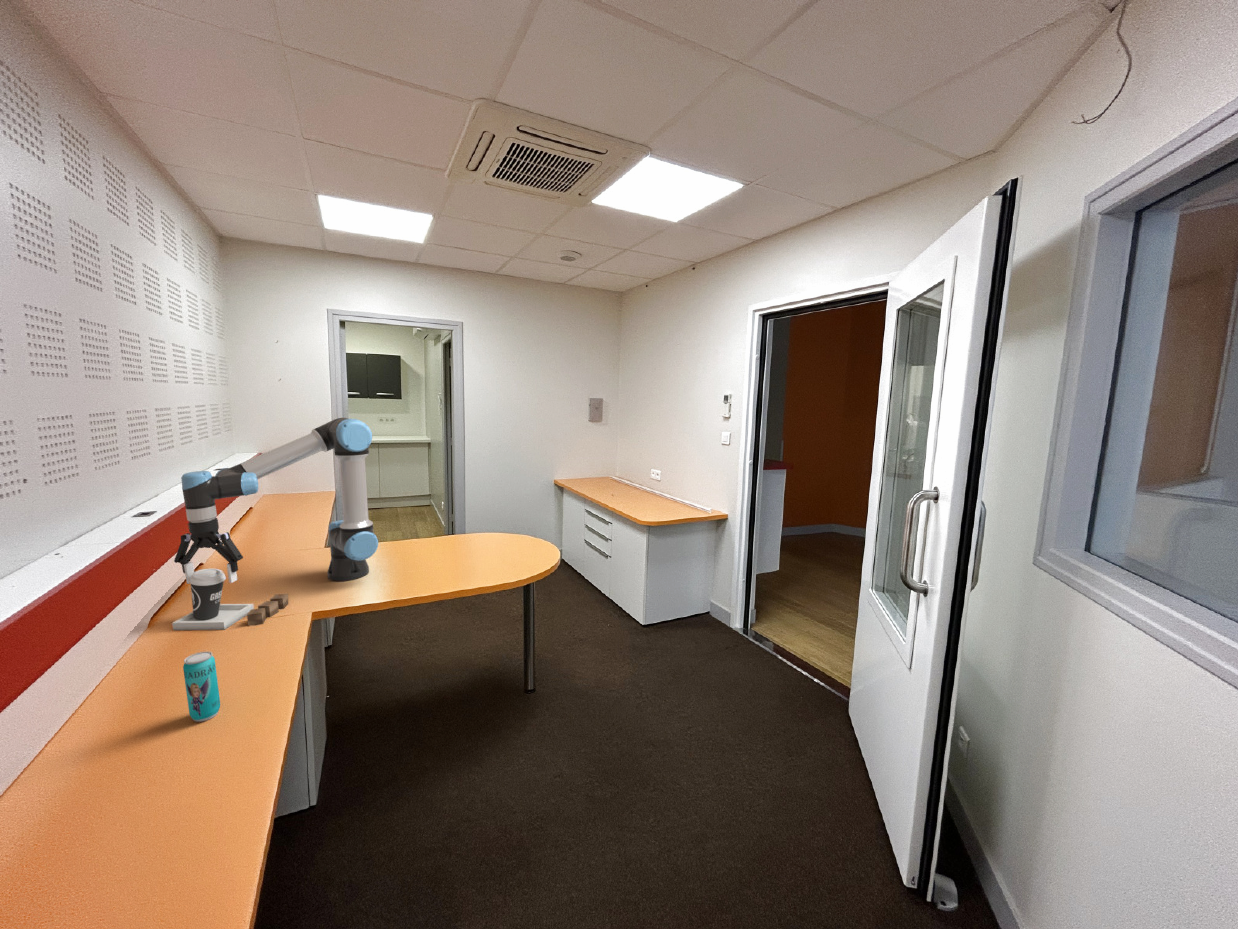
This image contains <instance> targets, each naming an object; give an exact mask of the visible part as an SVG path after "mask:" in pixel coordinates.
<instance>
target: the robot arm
mask: <svg viewBox="0 0 1238 929" xmlns="http://www.w3.org/2000/svg"><path fill="white" fill-rule="evenodd" d="M372 441H373V433H372V430H371V428H370V427H369V425H367V424H366V423H365V422H364V421H361V420H359V419H356V418H347V417H338V418H334V419H332V420H331V421H327V422H326V423H324V424H321V425H320V426H317V427H316V428H313V429H312V430H311V432H310V433H308V434H306V435H303V436H301V437H299V438H297V439H295V440H292V441H290V442H288V443H285V444H283V445H280V446H278V447H275V448H273V449H271V450H269V451H267V452H264V453H262V454H259V455H257V456H255V457H252V458H249V459H247V460H246V461H243V462H241V463H238V464H235V465H233V466H231V467H227V468H226V467H225V468H221V469H220V470H218V471H217V472H216V473H215V475H212V473H211V471H208V470H199V471H189V472H185V473H184V474H182V476H181V489H182V494H183V501H184V506H185V513H186V514H185V515H186V520H187V521H188V523H187V526H188V533H185V534H182V535H180V544H179V547H178V549H177V552H176V554H175V558H174V560H173V562H174V563H176V564H177V563H178V564H180V565H181V569H182V573H183V574H184V575H185V580H186V582H185V583H186V584H188V585H189V584H190V583H189V579H190V577H191V576H192V574H193V573H194V572H195V568H194V562H193V561H192V559H193V558H194V556H195V555H196V553H197V552H198V551H199V549H204V548H205V549H213V550H215V551H216V552H217V553H218V554H219V555H221V557H222V558H223V559H224V560H226V562H227V563H226V570H227V576H228V583H229V584H232V583H234V582H236V581H237V580H238V575H237V572H238V571H239V566H238V561H241V560H242V559H243V558H244V556H243V554H242V553H241V551H240V550H239V549H238V548H237V546H236V544H235V543H234V541H233V539H231V535H230V532H224V533H220V532H219V528H220V526H219V519H218V518H217V517H218V513H217V507H216V500H220V499H228V498H235V497H243V496H245V497H247V496H250V495H255V494H257V493H258V492H259V479H262V478H264V477H266V476H269V475H271V474H273V473H275V472H278V471H279V470H283V469H284V468H286V467H289V466H291V465H294V464H295V463H297V462H299V461H302V460H304V459H306V458H308V457H310V456H314V455H315V454H318V453H320V452H325V453H326V452H329V451H331V450H333V451H334V452H333V454H334V456H335V457H336V458H337V459H338V460H339V470H340V471H339V472H340V485H341V486H340V487H341V498H342V499H341V501H342V515H343V516H342V517H343V519H341V520H335V521H332V522H330V523H329V524H328V529H327V531H328V536H329V547H330V548H329V550H330V562H329V565H328V570H327V579H328V580H329V581H333V582H334V581H335V582H342V581H343V582H345V581H352V580H356V579H360V578H363V577H365V576H366V575H368V574H369V573H370V566H369V564H368V562H367V559H370V558H371V557H372V556H373V555H375V553H376V552H377V549H378V547H379V540H378V537H377V535H376V534H375V533H374V532H375V531H374V522H373V521H372V520H370V519H369V507H368V506H369V505H368V491H367V490H368V489H367V488H368V487H367V474H366V472H367V471H366V458H367V457H368V456H369V455H370V449H369V448H370V447H369V446H370V445H371V443H372ZM191 541H192V544H191ZM190 544H191V545H190ZM189 546H190V548H189ZM188 548H189V549H188ZM190 585H191V584H190Z"/></svg>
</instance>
